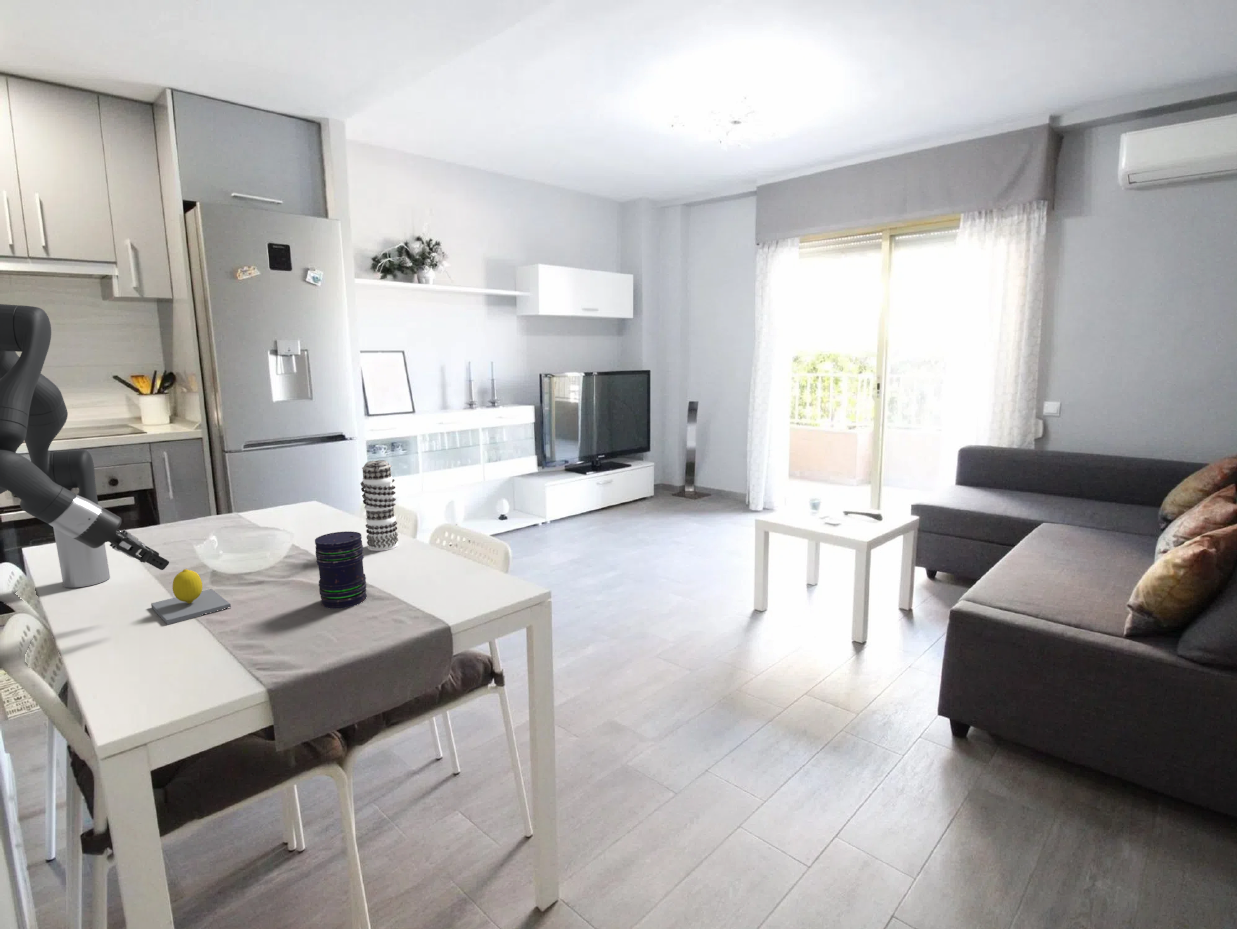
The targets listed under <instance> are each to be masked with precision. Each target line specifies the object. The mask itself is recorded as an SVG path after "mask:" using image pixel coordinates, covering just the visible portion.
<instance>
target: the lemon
mask: <svg viewBox="0 0 1237 929" xmlns="http://www.w3.org/2000/svg"><path fill="white" fill-rule="evenodd" d="M202 591H203V582H202V578H201V577H200V575H199V574H198V572H196V571H194V570H191V569H190V570H189V569H187V568H185V569H183V570H182V571H180V572H178V573H177V574H176V575H175V577H174V578H173V581H172V593H173V594H174V596H175V597H176V598H177V599H178V600H180V601H183V602H187V603H188V604H190V603H192V602H193V601H194V600H195V599H197V598H198V597H199V596H200V594H201V592H202ZM175 597H174V598H175Z"/></svg>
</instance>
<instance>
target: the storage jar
mask: <svg viewBox="0 0 1237 929" xmlns="http://www.w3.org/2000/svg"><path fill="white" fill-rule="evenodd" d="M314 544H315V558H316V564H317V566H318V572H319V580H318V587H319V588H318V591H319V595H320V599H321V601H320V603H321V606H322V607H323V608H325V609H328V608H330V609H331V610H338V609H339V610H340V609H341V608H342V609H348V608H352V607H355V606H354V605H356V606H358V605H360V603H361V602H362V603H364V602H365V601H366V600H367V599H366V597H367V596H368V595H367V580H366V579H367V577H366V574H365V573H364V563H363V562H364V561H363V560H364V557H365V554H364V545H363V540H362V533H360V532H358V531H349V530H348V531H337V532H330V533H326V534H322V535H319V536H318V537H316V538H315V539H314ZM367 598H368V597H367ZM365 599H366V600H365ZM364 600H365V601H364ZM363 601H364V602H363ZM362 603H361V604H362ZM357 604H358V605H357ZM347 607H348V608H347Z"/></svg>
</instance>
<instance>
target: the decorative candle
mask: <svg viewBox="0 0 1237 929" xmlns="http://www.w3.org/2000/svg"><path fill="white" fill-rule="evenodd" d="M391 467H392V464H391V465H390V464H389V462H388V461H387V460H383V459H382V460H381V459H378V460H370V461H367V462H365V463H364V466H362V467H361V469H362V481H361V482H360V484H359V485H360V486H361V492H362V495H361V496H362V499H363V500H362V504H364V505H365V506H364V508H363V509H364V510H365V512H366V515H365V516H366V518H365V521H366V522H365V523H366V524H365V528H366V530H365V532H366V533H367V535H366V537H365V538H366V540H367V541H366V543H367V545H368V546H367V550H369V551H375V552H381V551H389V550H392V549H395V548H398V546H399V543H398V542H399V537H398V535H399V534H398V532H397V530H398V526H397V525H398V522H397V521H396V515H395V510H394V508H395V507H396V505H397V504H396V503H395V501H396V498H395V497H393V496H394V495H396V491H395V489H396V486H395V485H393V484H392V483H394V482H395V479H393V475H392V470H391Z"/></svg>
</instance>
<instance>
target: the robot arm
mask: <svg viewBox="0 0 1237 929" xmlns="http://www.w3.org/2000/svg"><path fill="white" fill-rule="evenodd" d="M51 340H52V325H51V320H50V318H49V315H48V314H47V313H46V311H45V310H44V309H43V308H40V307H37V306H32V305H31V306H30V305H19V304H18V305H17V304H5V303H4V304H2V303H0V495H2V494H3V493H5V492H7V491H8V492H10V493H11V494H13V495H14V496H16V497H17V498H18V499H20V503H19V505H20V506H19V507H20V508H21V510H22V511H24V512H25V513H26V514H29V516H33V517H34V518H36V519H38V520H40V521H42V522H44V523H46V524H48V525H49V526H51V527H53V533H54V540H55V545H56V550H57V557H58V564H59V568H60V574H61V580H62V585H63V587H64V588H70V589H72V588H73V589H75V588H84V587H89V586H93V585H97V584H101V583H104V582H106V581H107V580H109V579H110V577H111V574H110V568H109V562H108V555H107V549H106V544H105V543H110V544H108V545H109V547H111V549H113V550H114V551H116V552H119V553H122V554H124V555H126V556H128V557H129V558H132V559H136V560H138V561H139V562H141V563H144V564H145V563H147V564H149V565H151V566H152V567H154V568H156V569H158V570H160V571H164V570H165V569H166V568H167V567H168V565H169V564H170V561H169V560H168V559H165V558H164V557H162V556H160V552H158V551H157V550H154V549H153V548H151V547H149V546H147V545H146V544H145V543H144V542H142V541H141V540H139V538H138V537H136V536H135V535H133V534H132V533H130V532H129V531H127V530H125V529H122V530H120V529H119V528H120V526H121V525H122V517H120V516H118V515H117V514H115V513H113V512H111V511H110V510H108V509H106V508H105V507H102V506H101V505H100V504H99V501H98V493H97V486H96V476H95V475H96V474H95V465H94V460H93V457H92V454H91V453H90V452H89V451H88V450H86V449H75V450H73V449H72V450H61V451H58V450H57V451H50V450H49V449H50V447H51V444H52V442H53V441H54V439H55V438H56V437H57V436H58V434H59V433H60V432H61V430H62V429H63V428H64V426H65V424H66V422H67V419H68V413H69V412H68V409H67V406H66V402H65V400H64V397H63V394H62V392H61V390H60V389H59V387H58V386H57V385H56V384H55V383H54V382H53V381H52V380H50V378H48V377H47V376H45V375H44V374H42V370H43V368H44V364H45V361H46V358H47V354H48V352H49V348H50V345H51ZM17 352H21V353H20V356H19V355H18V353H17ZM24 442H25V446H26V448H27V451H28V455H29V459H28V458H27V457H25V456H23V455H21V454H19V453H17V451H18V449H19V448H20V446H21V445H22V444H23V443H24ZM69 489H78V493H75V492H72V491H71V490H69Z"/></svg>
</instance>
